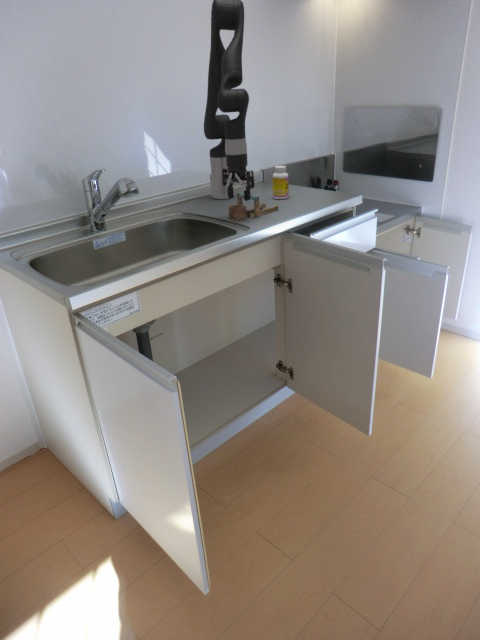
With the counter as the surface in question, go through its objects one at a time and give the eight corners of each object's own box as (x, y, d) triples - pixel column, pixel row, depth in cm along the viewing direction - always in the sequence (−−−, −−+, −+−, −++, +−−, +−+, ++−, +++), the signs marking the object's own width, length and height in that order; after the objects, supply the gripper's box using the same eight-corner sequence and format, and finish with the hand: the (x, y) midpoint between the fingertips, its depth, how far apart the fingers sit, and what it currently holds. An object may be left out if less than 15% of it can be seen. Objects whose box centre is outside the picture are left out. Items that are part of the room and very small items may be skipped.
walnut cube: (229, 219, 178) (228, 206, 176) (238, 216, 181) (237, 204, 179) (237, 221, 175) (237, 208, 173) (246, 218, 178) (246, 206, 176)
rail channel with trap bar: (235, 214, 184) (234, 194, 180) (261, 206, 192) (261, 187, 189) (253, 218, 177) (253, 198, 174) (280, 210, 186) (280, 190, 182)
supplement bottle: (287, 199, 201) (287, 167, 195) (271, 199, 202) (271, 168, 196) (289, 196, 206) (289, 165, 201) (274, 196, 208) (273, 165, 202)
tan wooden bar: (240, 217, 181) (239, 209, 179) (256, 212, 186) (256, 205, 185) (245, 218, 179) (245, 211, 178) (262, 213, 184) (261, 206, 183)
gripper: (258, 151, 166) (260, 199, 173) (230, 150, 175) (233, 195, 182) (242, 154, 161) (245, 203, 168) (214, 152, 171) (218, 198, 178)
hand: (238, 199), depth 175 cm, fingers open, 8 cm apart
